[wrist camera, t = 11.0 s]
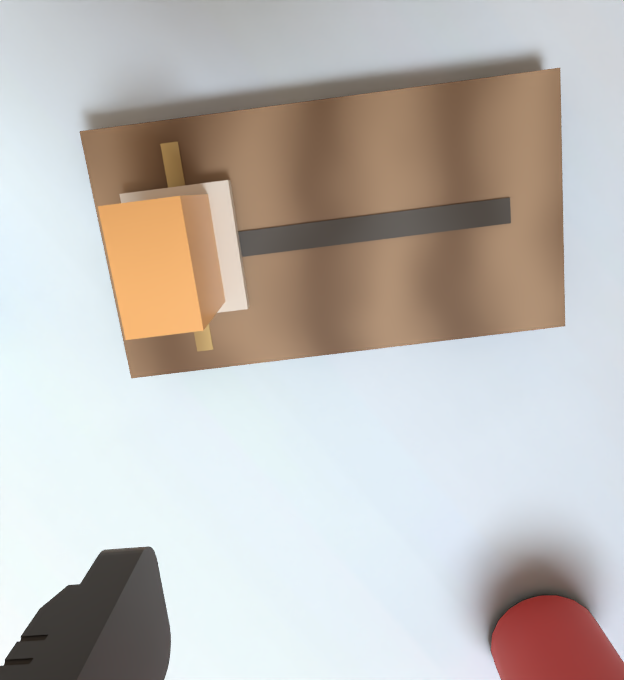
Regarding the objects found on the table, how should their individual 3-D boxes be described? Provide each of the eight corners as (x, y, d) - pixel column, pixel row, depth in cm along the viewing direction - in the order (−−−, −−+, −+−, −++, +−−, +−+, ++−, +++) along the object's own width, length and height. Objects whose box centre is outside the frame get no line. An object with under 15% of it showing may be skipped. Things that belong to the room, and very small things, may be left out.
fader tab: (230, 180, 28) (205, 177, 21) (249, 305, 29) (231, 340, 23) (124, 193, 28) (67, 195, 21) (149, 318, 29) (102, 355, 23)
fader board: (543, 76, 29) (561, 67, 27) (549, 317, 32) (565, 326, 30) (94, 135, 29) (78, 131, 27) (142, 366, 32) (130, 378, 30)
